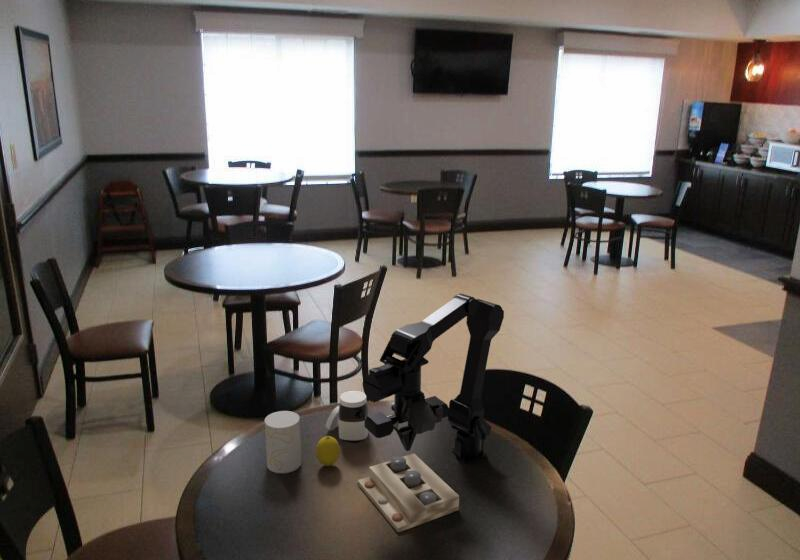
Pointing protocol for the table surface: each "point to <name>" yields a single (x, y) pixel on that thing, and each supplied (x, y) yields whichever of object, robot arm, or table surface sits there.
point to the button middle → (412, 479)
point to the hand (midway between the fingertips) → (407, 450)
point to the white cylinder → (283, 441)
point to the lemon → (328, 450)
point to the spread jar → (350, 417)
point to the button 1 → (398, 464)
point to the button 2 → (427, 498)
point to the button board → (408, 494)
